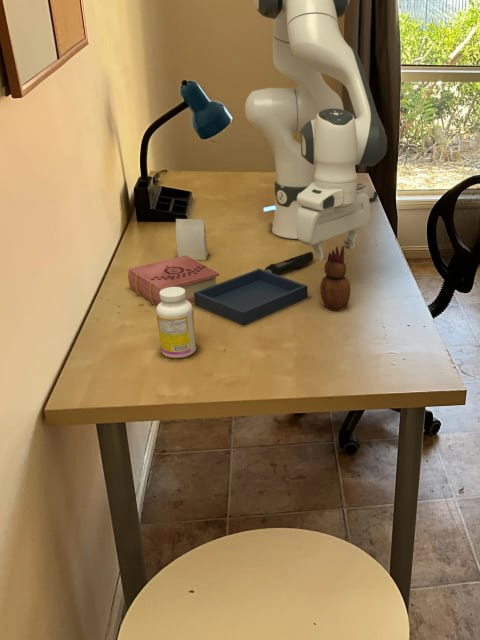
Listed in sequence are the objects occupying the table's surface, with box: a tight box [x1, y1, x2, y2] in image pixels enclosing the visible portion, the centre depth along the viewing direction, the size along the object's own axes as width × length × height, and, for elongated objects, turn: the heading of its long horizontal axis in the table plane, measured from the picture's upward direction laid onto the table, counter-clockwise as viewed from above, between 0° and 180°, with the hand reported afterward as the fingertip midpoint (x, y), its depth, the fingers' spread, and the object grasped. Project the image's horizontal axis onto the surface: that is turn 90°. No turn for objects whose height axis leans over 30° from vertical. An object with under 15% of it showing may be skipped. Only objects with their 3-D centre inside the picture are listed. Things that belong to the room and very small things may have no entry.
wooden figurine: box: [319, 245, 352, 311], centre depth 165 cm, size 7×6×15 cm
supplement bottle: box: [155, 287, 197, 359], centre depth 144 cm, size 7×7×13 cm
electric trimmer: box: [264, 251, 314, 276], centre depth 186 cm, size 4×16×3 cm, turn 143°
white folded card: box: [175, 218, 209, 261], centre depth 189 cm, size 4×7×10 cm, turn 95°
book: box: [127, 255, 220, 307], centre depth 171 cm, size 14×15×5 cm
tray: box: [194, 268, 309, 326], centre depth 168 cm, size 20×16×3 cm
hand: (335, 253), depth 163 cm, fingers open, 8 cm apart
